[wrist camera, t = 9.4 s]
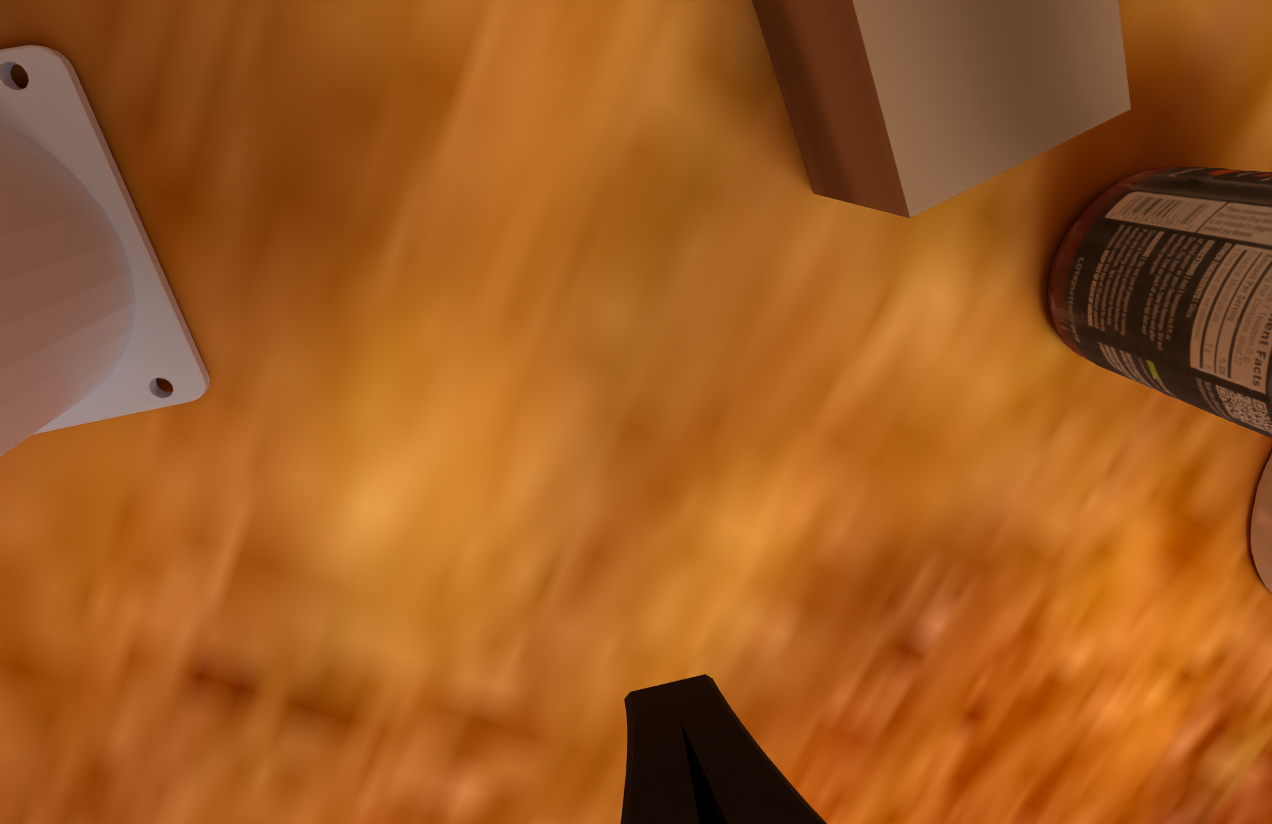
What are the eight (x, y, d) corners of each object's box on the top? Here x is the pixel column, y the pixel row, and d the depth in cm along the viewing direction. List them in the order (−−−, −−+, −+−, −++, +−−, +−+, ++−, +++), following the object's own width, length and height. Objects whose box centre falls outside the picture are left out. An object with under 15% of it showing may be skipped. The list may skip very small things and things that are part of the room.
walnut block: (812, 193, 19) (910, 218, 15) (749, -4, 17) (840, -45, 13) (980, 110, 19) (1130, 109, 15) (938, -98, 17) (1097, -174, 12)
